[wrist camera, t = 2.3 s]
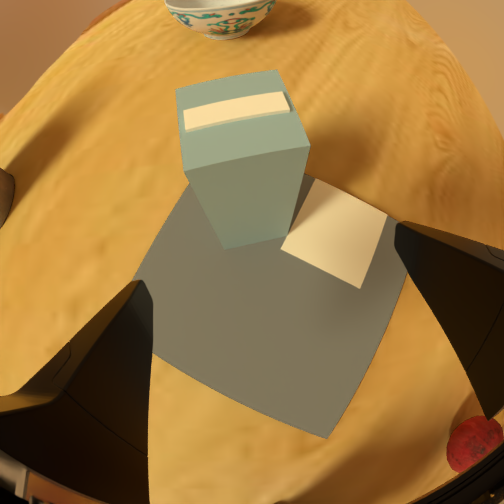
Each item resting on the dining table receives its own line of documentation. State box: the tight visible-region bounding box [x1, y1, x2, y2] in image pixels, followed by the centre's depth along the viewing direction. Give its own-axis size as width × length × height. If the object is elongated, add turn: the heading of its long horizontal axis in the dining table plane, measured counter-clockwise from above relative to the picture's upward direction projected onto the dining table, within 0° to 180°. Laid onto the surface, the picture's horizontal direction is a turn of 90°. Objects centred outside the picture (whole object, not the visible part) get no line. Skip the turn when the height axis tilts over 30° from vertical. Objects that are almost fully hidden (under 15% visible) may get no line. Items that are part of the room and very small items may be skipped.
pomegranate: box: [447, 416, 504, 473], centre depth 13 cm, size 6×6×8 cm
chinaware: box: [165, 0, 277, 40], centre depth 27 cm, size 15×15×8 cm
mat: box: [132, 173, 407, 439], centre depth 21 cm, size 20×19×1 cm
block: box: [176, 70, 311, 250], centre depth 16 cm, size 5×5×12 cm
